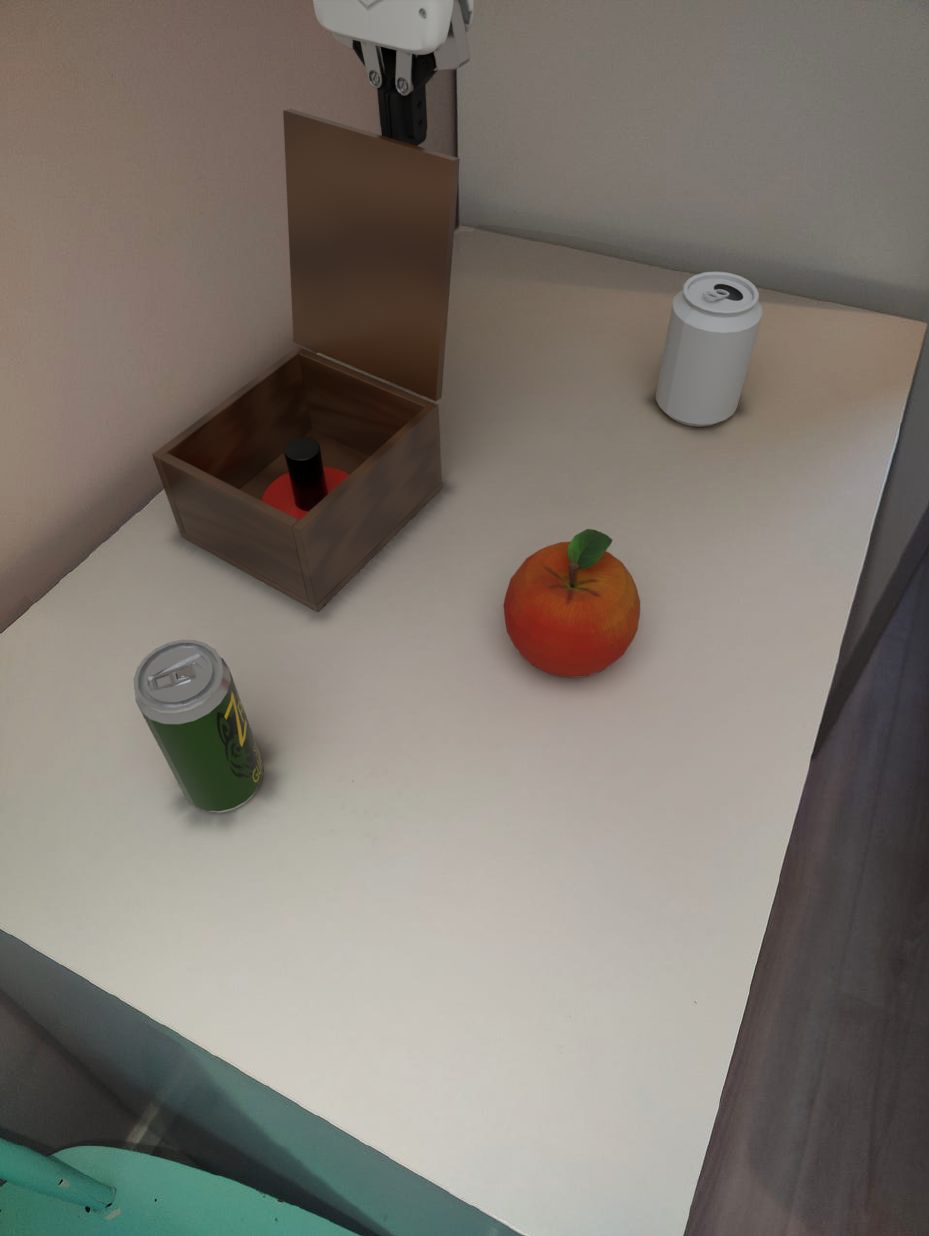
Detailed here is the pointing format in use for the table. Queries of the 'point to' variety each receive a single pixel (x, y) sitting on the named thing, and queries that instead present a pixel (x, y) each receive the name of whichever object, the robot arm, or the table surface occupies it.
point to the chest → (254, 458)
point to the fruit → (572, 607)
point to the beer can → (199, 724)
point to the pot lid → (302, 479)
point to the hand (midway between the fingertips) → (405, 144)
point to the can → (708, 348)
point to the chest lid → (370, 249)
